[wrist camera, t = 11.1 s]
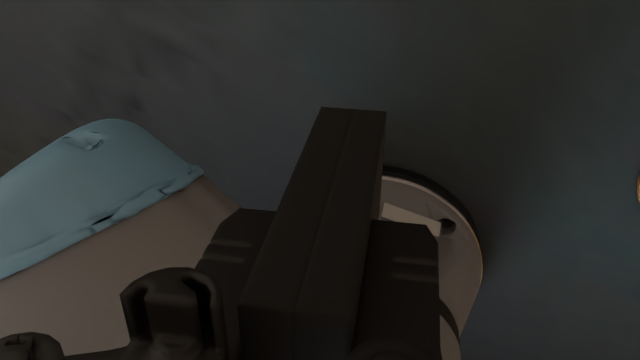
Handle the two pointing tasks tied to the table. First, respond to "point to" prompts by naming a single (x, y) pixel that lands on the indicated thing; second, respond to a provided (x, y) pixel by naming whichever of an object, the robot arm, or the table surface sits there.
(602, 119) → the table surface
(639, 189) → the cork coaster
